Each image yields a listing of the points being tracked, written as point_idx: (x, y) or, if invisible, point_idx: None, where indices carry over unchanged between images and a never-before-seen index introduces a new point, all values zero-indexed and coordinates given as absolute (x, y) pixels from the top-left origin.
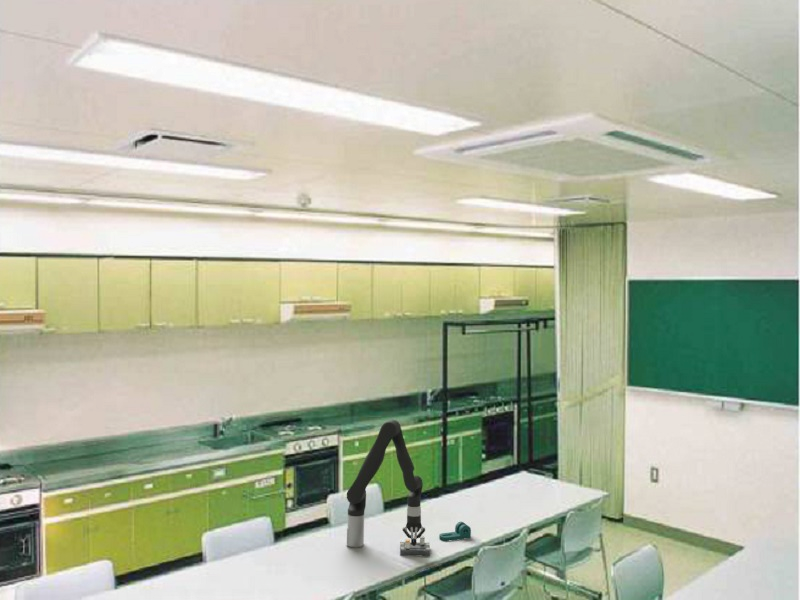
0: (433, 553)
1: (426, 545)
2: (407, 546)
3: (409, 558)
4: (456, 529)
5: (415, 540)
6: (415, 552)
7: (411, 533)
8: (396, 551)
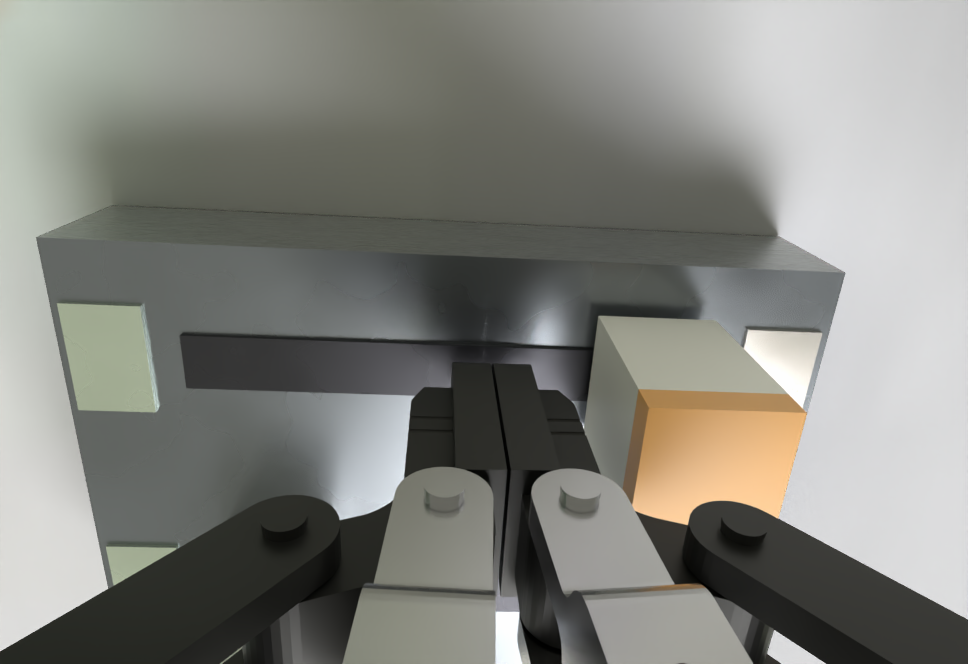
0: (52, 348)
1: (170, 532)
2: (676, 337)
3: (599, 55)
4: None
5: (441, 464)
6: (446, 239)
7: (707, 648)
8: (806, 424)
